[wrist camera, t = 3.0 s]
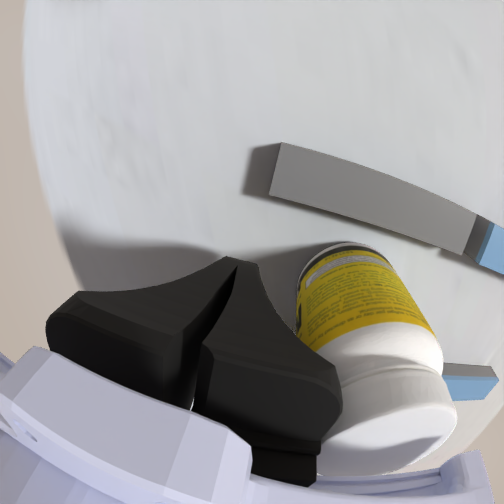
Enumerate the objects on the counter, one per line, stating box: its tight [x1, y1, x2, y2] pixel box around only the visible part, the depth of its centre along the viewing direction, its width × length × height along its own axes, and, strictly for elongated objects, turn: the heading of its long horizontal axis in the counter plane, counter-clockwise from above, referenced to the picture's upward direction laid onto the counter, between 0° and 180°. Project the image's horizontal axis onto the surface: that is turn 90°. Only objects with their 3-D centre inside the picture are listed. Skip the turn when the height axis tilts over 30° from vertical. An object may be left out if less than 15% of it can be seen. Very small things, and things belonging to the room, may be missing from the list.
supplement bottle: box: [296, 242, 457, 476], centre depth 9 cm, size 5×5×8 cm
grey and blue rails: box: [269, 142, 504, 401], centre depth 12 cm, size 11×19×2 cm, turn 77°
